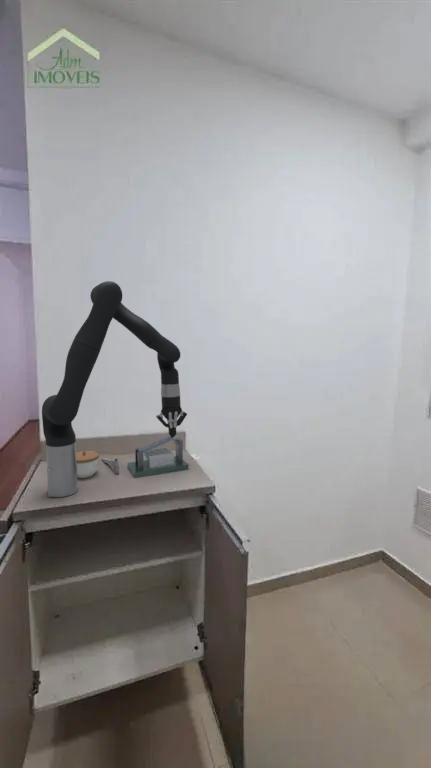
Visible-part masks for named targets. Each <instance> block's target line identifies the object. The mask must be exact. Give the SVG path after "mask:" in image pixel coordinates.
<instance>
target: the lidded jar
mask: <svg viewBox="0 0 431 768" xmlns="http://www.w3.org/2000/svg"><path fill="white" fill-rule="evenodd" d="M99 455H100V454H99V453H98V452H96V451H94V450H93V451H90V450H89V451H87V450H86V451H85V450H82V451H78V452H76V458H77V479H78V478H79V479H86V478H90V477H92V476H94V474H95V472H97V470H98V467H99V462H100V461H99V457H100V456H99Z"/></svg>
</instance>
